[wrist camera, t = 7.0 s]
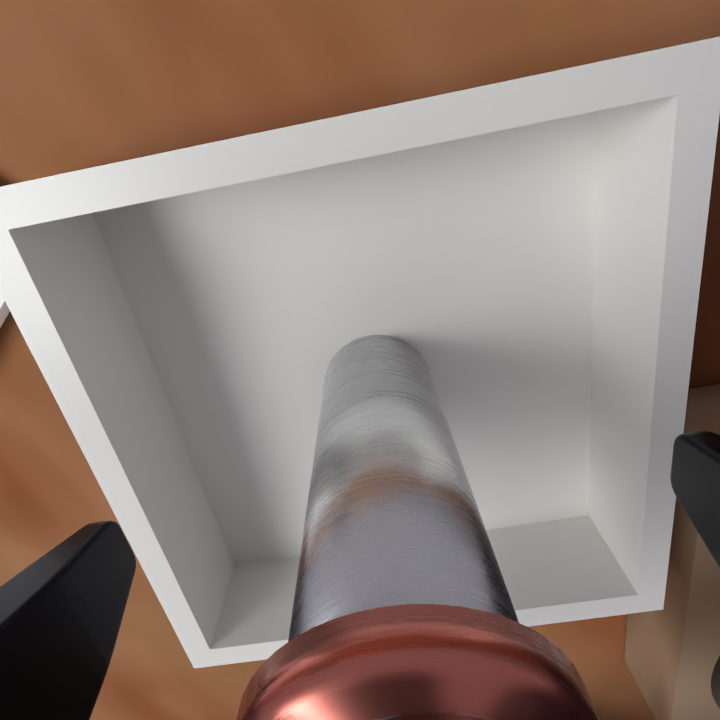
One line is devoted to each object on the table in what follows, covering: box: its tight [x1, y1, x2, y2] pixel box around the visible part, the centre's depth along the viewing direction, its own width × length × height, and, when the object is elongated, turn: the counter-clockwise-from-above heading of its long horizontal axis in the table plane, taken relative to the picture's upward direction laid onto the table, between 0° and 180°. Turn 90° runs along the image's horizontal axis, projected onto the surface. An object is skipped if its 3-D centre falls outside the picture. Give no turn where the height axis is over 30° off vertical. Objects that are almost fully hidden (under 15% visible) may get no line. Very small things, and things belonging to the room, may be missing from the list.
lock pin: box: [237, 335, 600, 720], centre depth 8 cm, size 3×3×8 cm
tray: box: [0, 37, 720, 668], centre depth 10 cm, size 11×11×3 cm
